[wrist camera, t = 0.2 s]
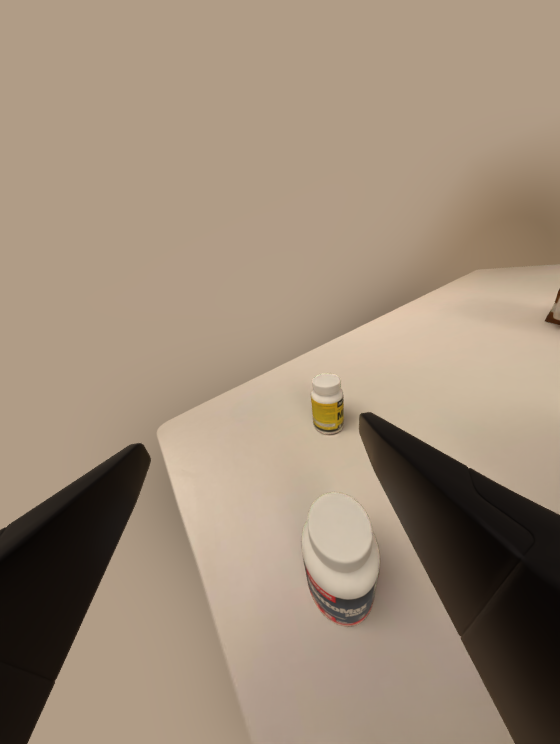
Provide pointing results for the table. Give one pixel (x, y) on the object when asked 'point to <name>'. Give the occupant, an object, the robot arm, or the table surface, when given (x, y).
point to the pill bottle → (340, 558)
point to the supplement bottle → (327, 403)
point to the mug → (555, 311)
